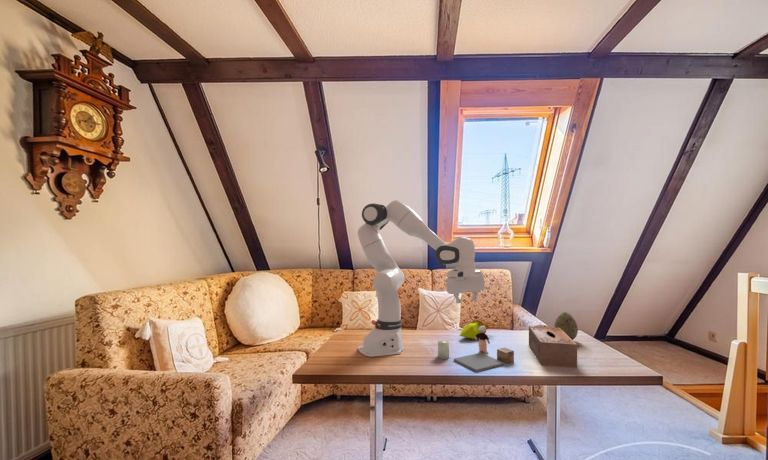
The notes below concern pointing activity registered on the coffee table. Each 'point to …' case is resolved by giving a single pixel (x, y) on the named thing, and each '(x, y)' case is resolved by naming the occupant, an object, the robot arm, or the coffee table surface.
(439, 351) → the sage green capsule
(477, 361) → the slate mat
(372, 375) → the coffee table surface
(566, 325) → the decorative egg
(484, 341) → the grandmother figurine
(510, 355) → the walnut block
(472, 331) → the plumb bob
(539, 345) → the tissue box cover
